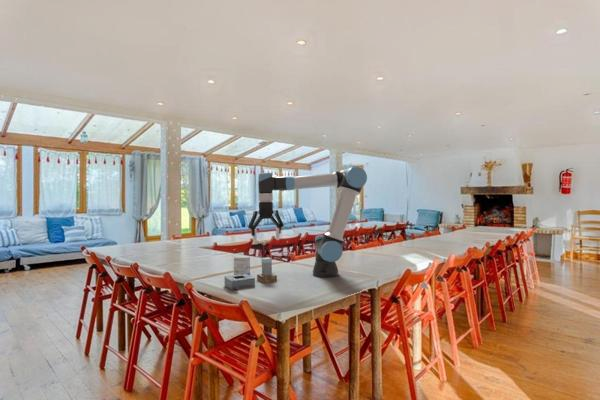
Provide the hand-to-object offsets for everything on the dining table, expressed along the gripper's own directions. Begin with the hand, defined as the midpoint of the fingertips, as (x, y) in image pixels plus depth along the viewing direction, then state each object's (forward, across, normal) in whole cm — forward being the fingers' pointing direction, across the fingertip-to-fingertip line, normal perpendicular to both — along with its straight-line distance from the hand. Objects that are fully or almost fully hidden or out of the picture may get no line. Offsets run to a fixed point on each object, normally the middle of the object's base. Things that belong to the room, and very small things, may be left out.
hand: (266, 240), depth 187 cm
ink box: (+23, +7, -20) cm, 31 cm away
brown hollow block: (+22, 0, 0) cm, 23 cm away
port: (+22, +16, 0) cm, 28 cm away
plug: (+22, 0, 0) cm, 22 cm away
